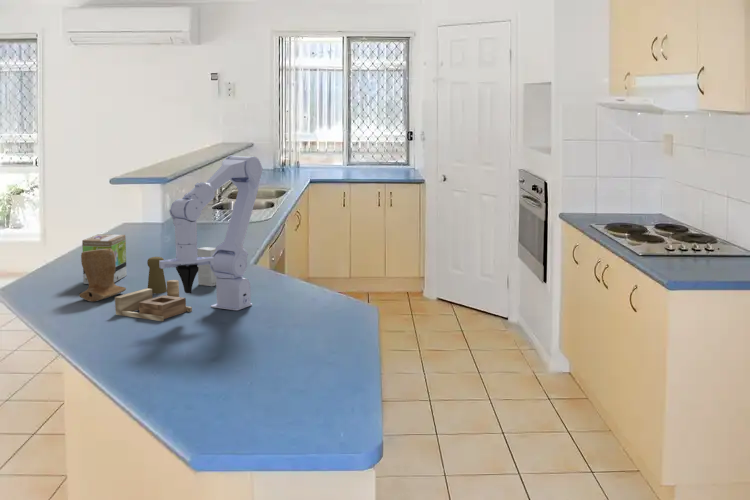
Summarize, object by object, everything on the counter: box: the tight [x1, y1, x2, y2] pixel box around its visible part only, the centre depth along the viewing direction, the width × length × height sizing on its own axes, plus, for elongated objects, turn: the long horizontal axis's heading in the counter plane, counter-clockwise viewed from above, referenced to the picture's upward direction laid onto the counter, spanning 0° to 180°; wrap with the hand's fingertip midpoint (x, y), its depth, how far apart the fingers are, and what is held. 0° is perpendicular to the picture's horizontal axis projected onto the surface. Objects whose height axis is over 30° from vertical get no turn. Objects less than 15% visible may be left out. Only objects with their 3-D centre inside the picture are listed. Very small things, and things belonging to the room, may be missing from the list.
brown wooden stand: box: [78, 248, 127, 303], centre depth 251 cm, size 15×12×15 cm
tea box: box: [81, 233, 128, 285], centre depth 277 cm, size 15×10×15 cm, turn 179°
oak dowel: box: [166, 279, 180, 297], centre depth 243 cm, size 3×3×7 cm
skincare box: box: [197, 246, 216, 287], centre depth 270 cm, size 6×4×12 cm
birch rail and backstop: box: [114, 287, 193, 322], centre depth 233 cm, size 16×13×5 cm
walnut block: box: [138, 294, 187, 320], centre depth 232 cm, size 8×10×4 cm
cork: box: [147, 256, 167, 295], centre depth 260 cm, size 6×6×11 cm
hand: (187, 292), depth 227 cm, fingers closed
